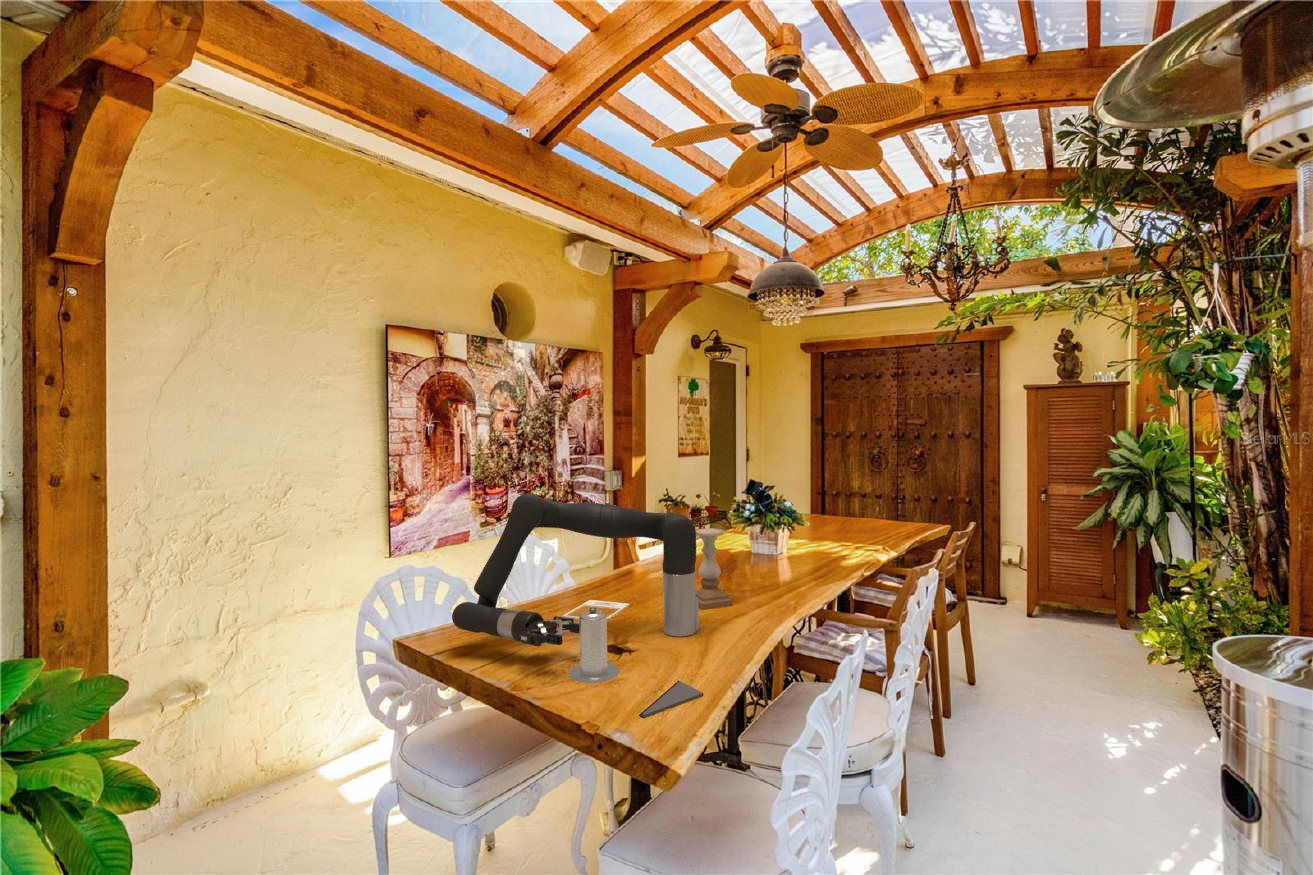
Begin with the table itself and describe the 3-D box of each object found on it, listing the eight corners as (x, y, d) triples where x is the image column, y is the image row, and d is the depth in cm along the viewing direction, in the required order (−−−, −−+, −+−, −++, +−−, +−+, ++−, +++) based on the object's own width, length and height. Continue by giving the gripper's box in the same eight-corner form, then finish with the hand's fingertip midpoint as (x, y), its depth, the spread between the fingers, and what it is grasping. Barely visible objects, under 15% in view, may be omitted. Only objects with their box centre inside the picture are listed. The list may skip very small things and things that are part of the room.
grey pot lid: (602, 662, 152) (602, 650, 152) (629, 677, 142) (629, 664, 142) (559, 674, 145) (559, 662, 145) (584, 692, 135) (584, 678, 135)
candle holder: (688, 600, 203) (686, 529, 203) (717, 596, 207) (716, 526, 207) (702, 609, 193) (700, 534, 193) (732, 605, 197) (731, 532, 197)
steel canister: (590, 665, 147) (589, 603, 147) (611, 669, 145) (610, 606, 144) (576, 674, 142) (574, 610, 142) (597, 679, 139) (596, 614, 139)
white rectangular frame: (629, 603, 200) (605, 619, 183) (629, 606, 200) (605, 623, 183) (589, 599, 205) (562, 615, 188) (589, 602, 205) (562, 618, 188)
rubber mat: (658, 672, 145) (658, 670, 145) (703, 695, 132) (703, 693, 132) (601, 691, 135) (601, 688, 135) (643, 718, 122) (643, 715, 122)
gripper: (500, 619, 147) (553, 628, 140) (537, 603, 160) (589, 610, 152) (500, 649, 148) (554, 660, 140) (538, 631, 160) (589, 640, 153)
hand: (572, 634), depth 146 cm, fingers open, 8 cm apart
